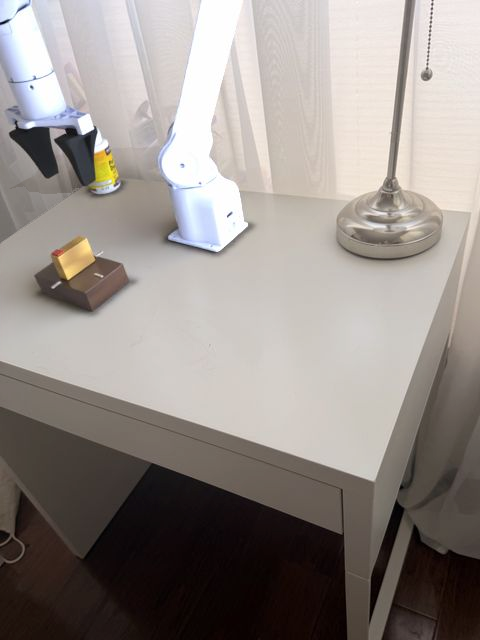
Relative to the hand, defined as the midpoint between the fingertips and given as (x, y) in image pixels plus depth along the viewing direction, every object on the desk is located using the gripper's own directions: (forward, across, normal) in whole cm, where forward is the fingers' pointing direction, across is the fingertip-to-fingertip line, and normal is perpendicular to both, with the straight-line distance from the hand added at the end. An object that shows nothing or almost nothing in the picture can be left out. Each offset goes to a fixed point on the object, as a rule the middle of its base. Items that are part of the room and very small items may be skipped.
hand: (70, 179), depth 76 cm
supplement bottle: (+11, -12, +15) cm, 22 cm away
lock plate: (+10, +8, -9) cm, 16 cm away
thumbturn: (+7, +7, -9) cm, 14 cm away
